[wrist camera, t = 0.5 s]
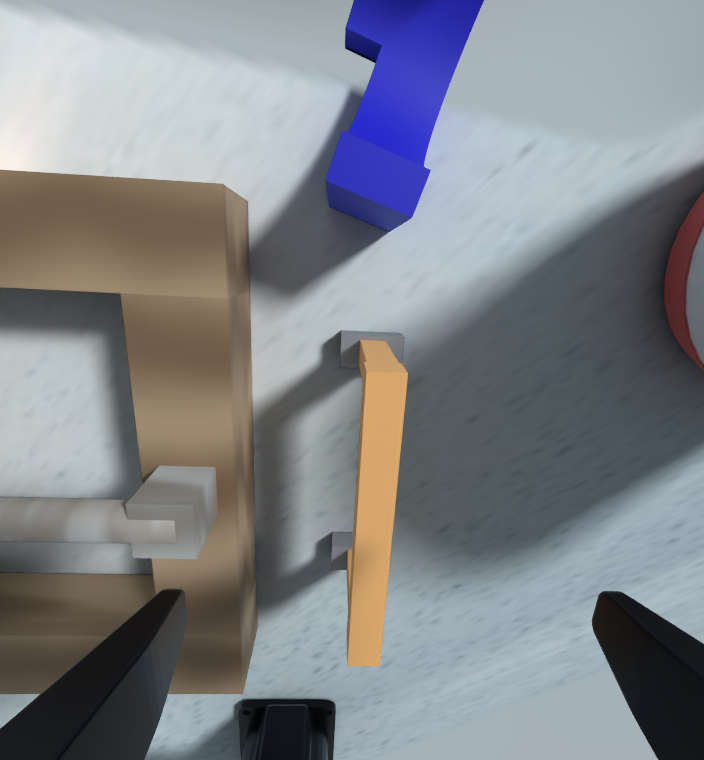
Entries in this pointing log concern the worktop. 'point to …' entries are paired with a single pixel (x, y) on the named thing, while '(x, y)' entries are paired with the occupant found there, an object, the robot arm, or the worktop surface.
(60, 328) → the worktop surface
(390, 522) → the orange staple arch
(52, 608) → the wooden picture frame
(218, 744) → the worktop surface
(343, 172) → the cable clip
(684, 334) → the citrus juicer
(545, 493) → the worktop surface
